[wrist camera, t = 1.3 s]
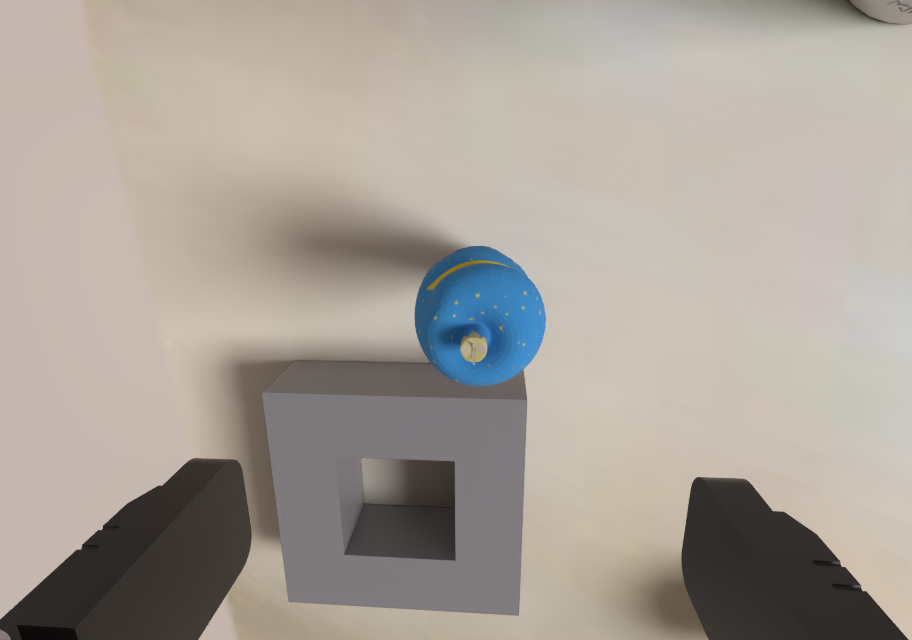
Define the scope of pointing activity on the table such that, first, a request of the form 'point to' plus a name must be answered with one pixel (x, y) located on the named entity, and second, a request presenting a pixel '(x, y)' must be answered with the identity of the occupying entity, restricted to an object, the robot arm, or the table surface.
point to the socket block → (390, 526)
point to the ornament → (479, 317)
